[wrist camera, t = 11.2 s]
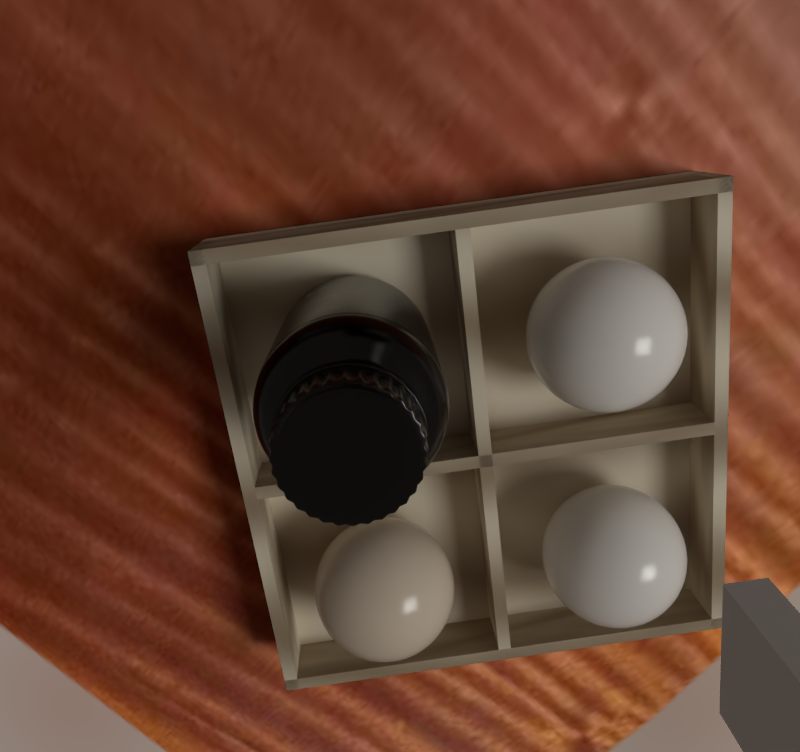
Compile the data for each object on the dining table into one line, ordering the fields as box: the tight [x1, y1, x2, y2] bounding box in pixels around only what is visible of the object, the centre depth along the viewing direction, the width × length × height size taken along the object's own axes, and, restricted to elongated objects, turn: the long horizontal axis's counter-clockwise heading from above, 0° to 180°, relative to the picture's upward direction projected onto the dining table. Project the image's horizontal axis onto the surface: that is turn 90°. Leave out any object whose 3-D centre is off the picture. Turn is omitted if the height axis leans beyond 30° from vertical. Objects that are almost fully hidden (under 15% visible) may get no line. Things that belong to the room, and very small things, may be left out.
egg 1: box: [315, 517, 454, 662], centre depth 33 cm, size 6×6×6 cm
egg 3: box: [542, 485, 687, 628], centre depth 33 cm, size 6×6×6 cm
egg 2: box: [526, 256, 688, 413], centre depth 30 cm, size 6×6×6 cm
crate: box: [188, 171, 733, 690], centre depth 34 cm, size 22×22×4 cm
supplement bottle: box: [253, 276, 449, 526], centre depth 27 cm, size 7×7×12 cm
